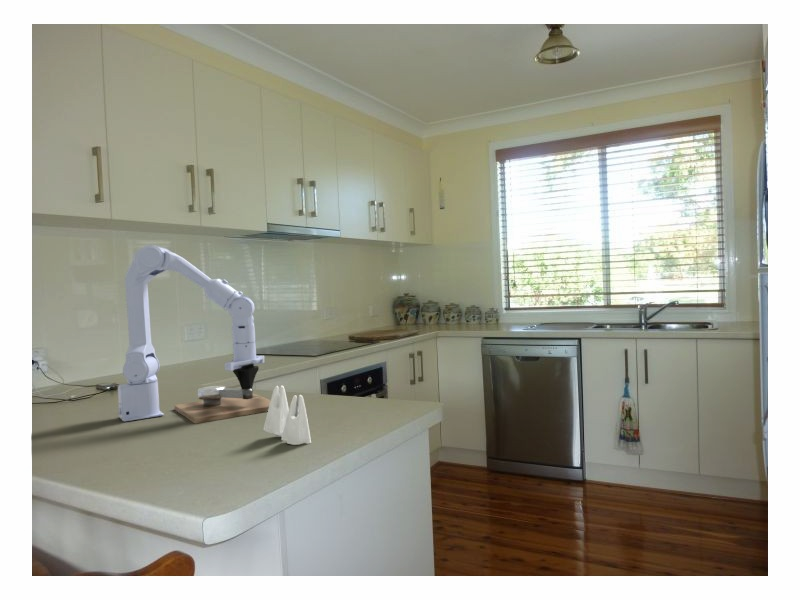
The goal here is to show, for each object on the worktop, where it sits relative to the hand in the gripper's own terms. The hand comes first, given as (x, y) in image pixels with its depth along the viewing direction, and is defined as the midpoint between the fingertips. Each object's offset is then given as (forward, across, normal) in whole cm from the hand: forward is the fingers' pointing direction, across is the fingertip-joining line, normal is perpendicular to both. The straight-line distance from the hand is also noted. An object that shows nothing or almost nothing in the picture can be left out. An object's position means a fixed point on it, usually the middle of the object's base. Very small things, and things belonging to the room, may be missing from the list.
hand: (247, 394), depth 148 cm
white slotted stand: (+4, -25, -28) cm, 37 cm away
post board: (+4, -1, +6) cm, 7 cm away
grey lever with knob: (+1, -2, +5) cm, 6 cm away
